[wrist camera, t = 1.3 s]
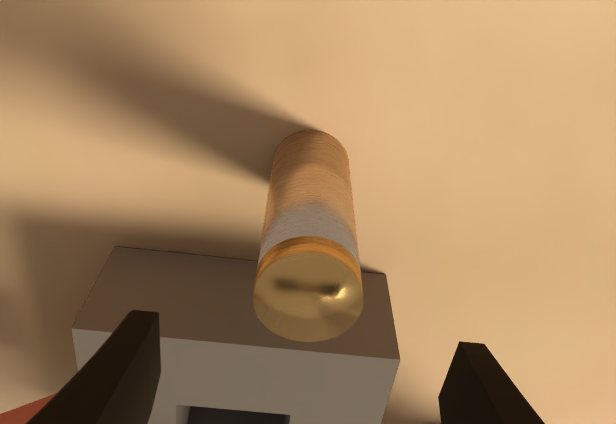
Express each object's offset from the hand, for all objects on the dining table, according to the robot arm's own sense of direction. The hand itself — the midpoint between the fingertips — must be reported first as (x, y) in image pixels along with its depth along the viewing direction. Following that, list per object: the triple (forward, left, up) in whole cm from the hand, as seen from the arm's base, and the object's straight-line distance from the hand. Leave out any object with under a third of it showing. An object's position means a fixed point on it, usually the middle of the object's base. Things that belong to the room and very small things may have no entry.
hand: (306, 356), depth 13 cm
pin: (0, 0, -10) cm, 10 cm away
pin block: (+2, +11, -10) cm, 15 cm away
